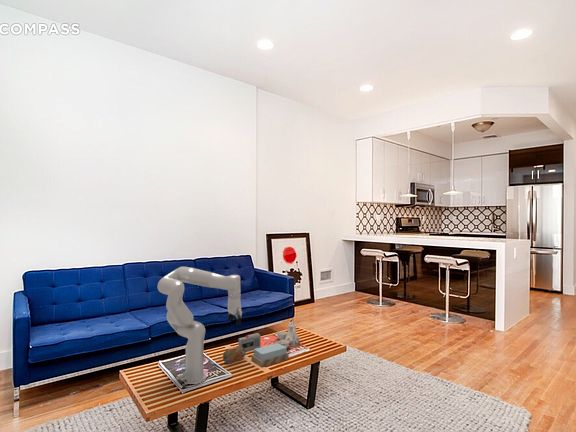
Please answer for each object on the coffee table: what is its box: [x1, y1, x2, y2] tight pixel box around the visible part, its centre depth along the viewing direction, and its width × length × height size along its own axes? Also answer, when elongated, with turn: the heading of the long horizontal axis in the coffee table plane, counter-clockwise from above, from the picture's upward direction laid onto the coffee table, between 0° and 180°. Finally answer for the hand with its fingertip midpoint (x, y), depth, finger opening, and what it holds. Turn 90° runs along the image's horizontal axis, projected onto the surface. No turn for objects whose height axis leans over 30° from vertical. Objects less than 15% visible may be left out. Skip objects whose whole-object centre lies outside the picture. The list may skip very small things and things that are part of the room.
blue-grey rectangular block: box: [253, 342, 288, 361], centre depth 214 cm, size 18×10×4 cm, turn 126°
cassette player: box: [238, 332, 262, 353], centre depth 230 cm, size 16×3×10 cm, turn 128°
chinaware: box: [275, 321, 300, 349], centre depth 241 cm, size 28×17×17 cm, turn 10°
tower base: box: [250, 352, 290, 368], centre depth 214 cm, size 20×12×4 cm, turn 127°
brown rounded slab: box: [222, 346, 246, 365], centre depth 212 cm, size 15×3×8 cm, turn 129°
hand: (235, 322), depth 212 cm, fingers open, 9 cm apart
